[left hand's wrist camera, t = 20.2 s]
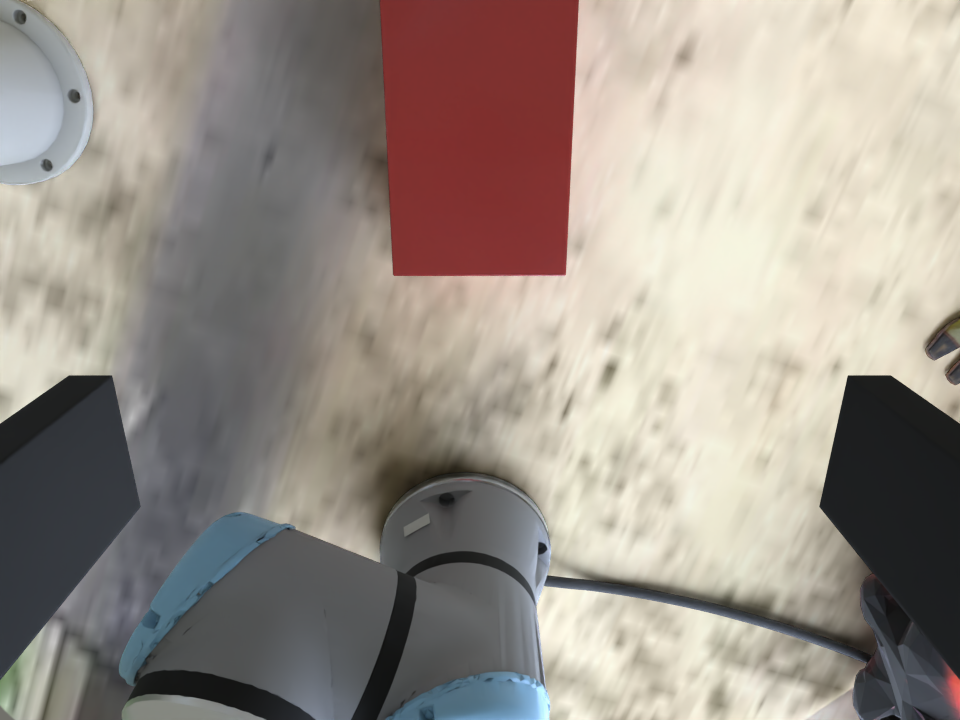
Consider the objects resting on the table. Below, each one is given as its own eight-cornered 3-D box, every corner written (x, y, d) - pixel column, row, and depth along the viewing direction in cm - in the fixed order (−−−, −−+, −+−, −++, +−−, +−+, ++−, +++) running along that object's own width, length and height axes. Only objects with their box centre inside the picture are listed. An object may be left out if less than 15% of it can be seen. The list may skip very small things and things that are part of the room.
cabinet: (397, -27, 45) (376, -56, 36) (561, -27, 45) (581, -57, 36) (408, 242, 52) (393, 276, 43) (550, 242, 52) (566, 276, 43)
